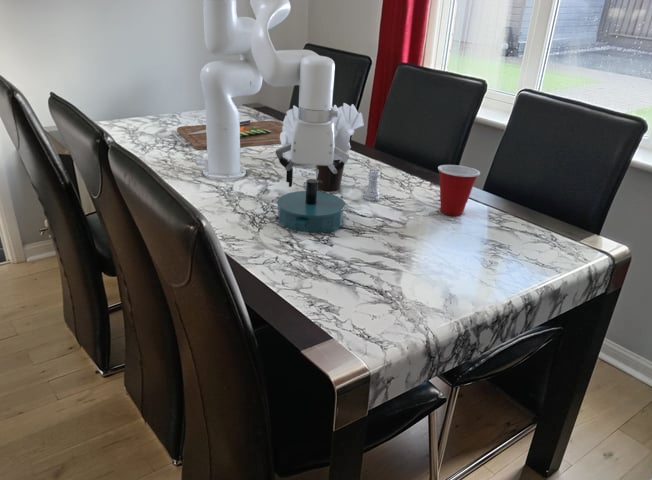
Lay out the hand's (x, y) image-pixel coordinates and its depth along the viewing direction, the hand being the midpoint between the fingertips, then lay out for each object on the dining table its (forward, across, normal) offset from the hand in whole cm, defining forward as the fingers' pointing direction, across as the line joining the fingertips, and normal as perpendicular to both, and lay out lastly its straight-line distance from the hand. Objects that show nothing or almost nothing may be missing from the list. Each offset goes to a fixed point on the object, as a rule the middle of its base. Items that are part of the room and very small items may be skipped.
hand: (310, 186), depth 139 cm
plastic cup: (+9, -38, -11) cm, 41 cm away
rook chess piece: (+9, -17, -18) cm, 27 cm away
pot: (+9, 0, +1) cm, 9 cm away
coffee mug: (+10, -5, -25) cm, 27 cm away
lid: (+4, 0, +1) cm, 5 cm away
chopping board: (+11, +27, -76) cm, 81 cm away
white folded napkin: (+10, -1, -52) cm, 53 cm away
